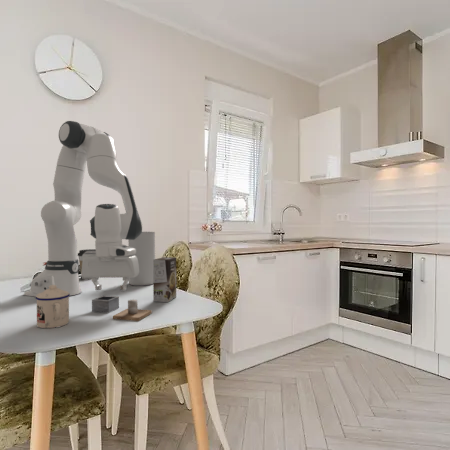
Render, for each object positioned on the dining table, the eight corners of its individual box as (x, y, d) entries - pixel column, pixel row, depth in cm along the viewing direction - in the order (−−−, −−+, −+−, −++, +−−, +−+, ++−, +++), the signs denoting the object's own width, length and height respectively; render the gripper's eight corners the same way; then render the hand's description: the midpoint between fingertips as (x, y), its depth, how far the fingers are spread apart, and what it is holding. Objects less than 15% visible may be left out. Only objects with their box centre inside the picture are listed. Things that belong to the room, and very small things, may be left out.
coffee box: (168, 302, 130) (168, 259, 129) (152, 301, 131) (152, 259, 131) (177, 297, 139) (176, 257, 138) (161, 296, 140) (161, 256, 140)
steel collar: (92, 311, 117) (91, 299, 117) (102, 306, 123) (102, 295, 123) (108, 312, 116) (108, 300, 116) (118, 307, 122) (118, 296, 122)
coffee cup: (73, 280, 178) (72, 251, 177) (85, 276, 189) (85, 249, 188) (93, 280, 176) (93, 251, 175) (104, 276, 187) (104, 249, 187)
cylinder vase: (133, 281, 174) (132, 231, 174) (157, 281, 174) (157, 231, 173) (125, 286, 161) (124, 232, 161) (151, 286, 161) (151, 232, 161)
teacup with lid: (33, 323, 104) (33, 284, 104) (65, 318, 110) (65, 281, 109) (40, 333, 95) (40, 291, 94) (75, 327, 100) (75, 287, 100)
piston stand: (112, 319, 108) (112, 303, 108) (127, 311, 117) (127, 296, 117) (139, 320, 106) (138, 304, 106) (151, 313, 115) (151, 298, 115)
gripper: (76, 252, 119) (78, 292, 119) (131, 250, 115) (133, 292, 115) (87, 250, 125) (89, 288, 125) (140, 249, 121) (141, 288, 121)
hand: (110, 290), depth 120 cm, fingers open, 8 cm apart
